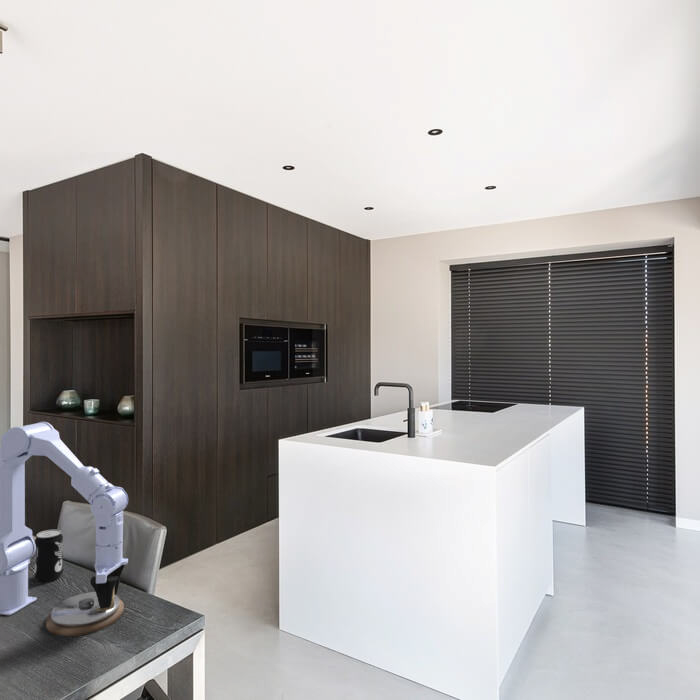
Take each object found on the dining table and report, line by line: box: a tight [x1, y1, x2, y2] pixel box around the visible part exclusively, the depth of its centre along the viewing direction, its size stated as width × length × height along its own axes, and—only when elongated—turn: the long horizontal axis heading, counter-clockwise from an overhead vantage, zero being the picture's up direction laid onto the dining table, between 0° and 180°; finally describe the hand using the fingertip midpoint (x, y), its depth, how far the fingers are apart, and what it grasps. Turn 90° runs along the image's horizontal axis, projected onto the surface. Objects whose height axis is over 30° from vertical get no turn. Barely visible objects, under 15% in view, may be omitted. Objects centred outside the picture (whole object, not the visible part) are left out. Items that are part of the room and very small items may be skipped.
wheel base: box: [45, 598, 125, 637], centre depth 121 cm, size 16×18×4 cm
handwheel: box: [50, 591, 120, 628], centre depth 120 cm, size 14×14×6 cm
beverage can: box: [33, 529, 64, 583], centre depth 140 cm, size 7×7×12 cm
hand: (108, 600), depth 121 cm, fingers open, 5 cm apart
